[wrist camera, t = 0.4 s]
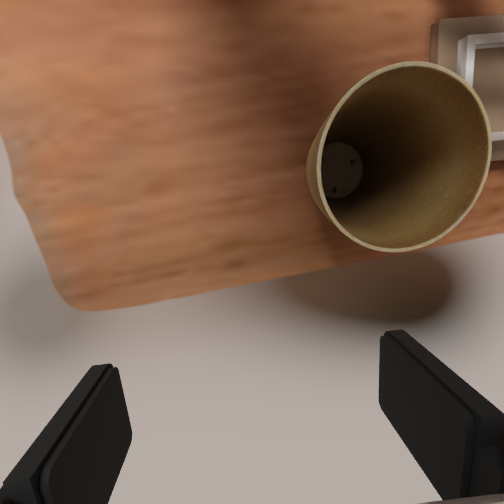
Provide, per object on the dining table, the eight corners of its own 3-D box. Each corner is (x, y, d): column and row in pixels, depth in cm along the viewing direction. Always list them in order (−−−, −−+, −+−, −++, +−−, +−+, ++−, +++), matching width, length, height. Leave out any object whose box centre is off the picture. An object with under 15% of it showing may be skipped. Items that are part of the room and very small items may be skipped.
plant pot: (274, 221, 40) (303, 243, 24) (290, 104, 36) (335, 44, 21) (376, 232, 41) (465, 261, 26) (400, 121, 38) (519, 77, 22)
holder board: (430, 25, 36) (448, 11, 33) (559, 16, 36) (588, 1, 34) (424, 167, 39) (440, 166, 37) (541, 156, 40) (565, 153, 37)
